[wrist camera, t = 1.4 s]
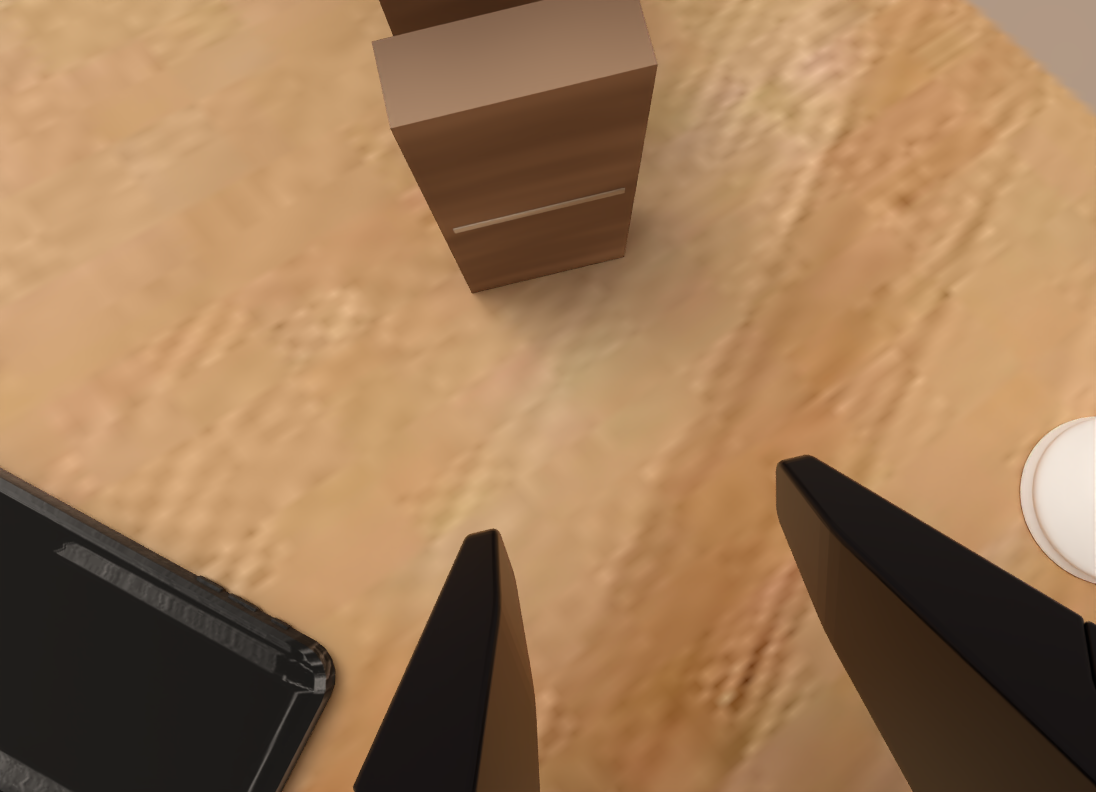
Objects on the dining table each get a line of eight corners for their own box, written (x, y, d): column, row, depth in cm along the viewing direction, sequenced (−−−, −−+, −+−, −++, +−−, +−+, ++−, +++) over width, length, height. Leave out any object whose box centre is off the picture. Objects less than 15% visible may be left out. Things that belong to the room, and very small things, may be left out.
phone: (205, 928, 20) (-220, 669, 21) (225, 905, 21) (-180, 661, 22) (342, 661, 21) (-75, 432, 22) (355, 653, 22) (-44, 435, 23)
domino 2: (624, 257, 23) (658, 65, 13) (472, 293, 23) (390, 130, 13) (610, 204, 23) (633, -24, 13) (460, 240, 23) (371, 40, 13)
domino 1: (592, 131, 24) (600, -142, 14) (445, 167, 24) (347, -80, 14) (579, 81, 24) (577, -221, 14) (433, 116, 24) (330, -160, 14)
